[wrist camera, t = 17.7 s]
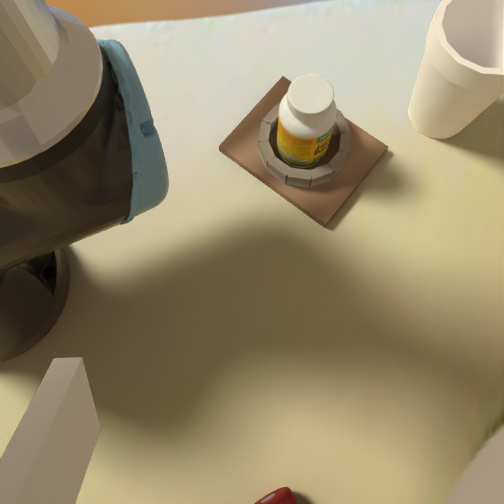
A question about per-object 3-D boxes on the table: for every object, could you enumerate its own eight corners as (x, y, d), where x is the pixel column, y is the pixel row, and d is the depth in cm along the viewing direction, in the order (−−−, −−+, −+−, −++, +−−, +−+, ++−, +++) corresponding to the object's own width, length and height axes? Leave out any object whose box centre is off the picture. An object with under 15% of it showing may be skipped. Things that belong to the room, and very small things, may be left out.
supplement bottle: (288, 117, 52) (294, 57, 42) (334, 134, 51) (351, 78, 42) (268, 158, 50) (270, 106, 41) (315, 177, 50) (328, 129, 40)
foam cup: (376, 102, 53) (412, 14, 41) (441, 62, 54) (495, -36, 42) (432, 167, 51) (488, 94, 38) (498, 124, 52) (573, 39, 40)
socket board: (219, 150, 52) (217, 136, 49) (282, 81, 54) (283, 64, 51) (324, 227, 49) (328, 217, 46) (385, 151, 51) (393, 137, 48)
